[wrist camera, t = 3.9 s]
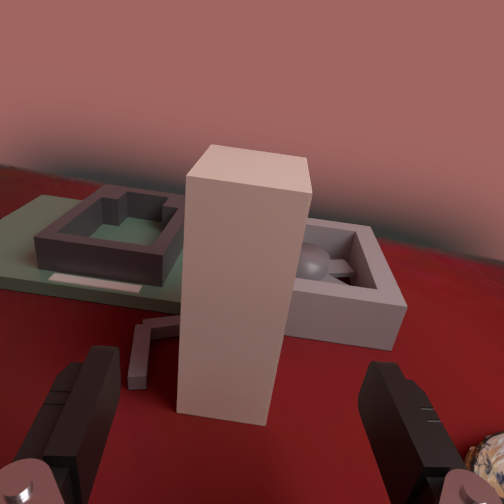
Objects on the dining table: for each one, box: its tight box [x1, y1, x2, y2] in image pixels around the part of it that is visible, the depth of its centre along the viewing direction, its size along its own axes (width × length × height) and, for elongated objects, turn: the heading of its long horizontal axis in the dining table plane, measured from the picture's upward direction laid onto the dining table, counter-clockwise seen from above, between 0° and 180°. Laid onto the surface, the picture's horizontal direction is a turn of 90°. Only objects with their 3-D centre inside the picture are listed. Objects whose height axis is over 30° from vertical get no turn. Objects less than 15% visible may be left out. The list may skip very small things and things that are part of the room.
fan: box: [128, 218, 407, 390], centre depth 27 cm, size 16×18×4 cm
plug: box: [176, 145, 312, 426], centre depth 19 cm, size 4×6×12 cm
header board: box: [0, 184, 185, 315], centre depth 31 cm, size 18×14×4 cm
